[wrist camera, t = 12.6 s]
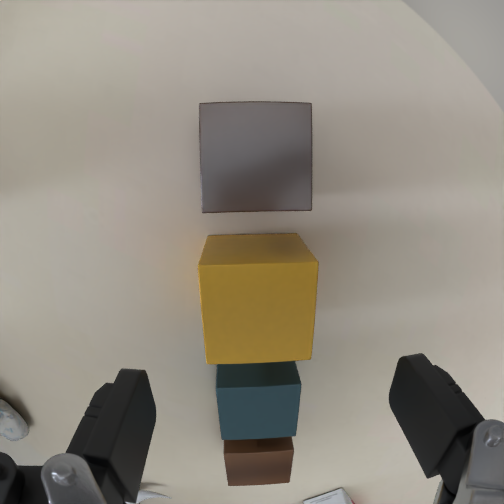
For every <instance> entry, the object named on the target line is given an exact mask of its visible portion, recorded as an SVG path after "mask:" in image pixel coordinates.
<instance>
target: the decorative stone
mask: <svg viewBox="0 0 504 504" xmlns="http://www.w3.org/2000/svg"><path fill="white" fill-rule="evenodd" d="M28 433H29V429H28V427H27V423H26V422H25V421H24V419H23V418H22V417H21V415H20V414H19V413H18V412H17V411H15V410H14V409H13V408H12V407H11V406H10V405H9V404H8V403H7V402H5V401H4V400H1V399H0V436H4V437H6V438H7V439H9V440H11V441H18V440H19V439H23V438H24V437H26V436H27V435H28Z"/></svg>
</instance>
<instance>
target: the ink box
mask: <svg viewBox="0 0 504 504" xmlns="http://www.w3.org/2000/svg"><path fill="white" fill-rule="evenodd" d="M303 504H354V502H353V501H352V500H351V499H350V497H349V496H348V495H347V494H346V492H345V491H344V490H343V488H341V489H338V490H335V491H332V492H329V493H327V494H324V495H321V496H318V497H315V498H312V499H309V500H305V501H303Z"/></svg>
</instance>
